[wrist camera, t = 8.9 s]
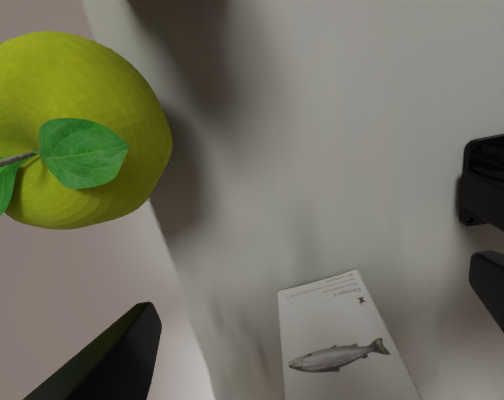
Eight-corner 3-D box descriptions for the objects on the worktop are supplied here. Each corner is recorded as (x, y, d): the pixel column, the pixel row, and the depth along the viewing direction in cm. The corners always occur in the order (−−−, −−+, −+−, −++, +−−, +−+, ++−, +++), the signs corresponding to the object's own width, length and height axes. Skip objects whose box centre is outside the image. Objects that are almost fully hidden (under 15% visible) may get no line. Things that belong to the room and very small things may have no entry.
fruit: (207, 169, 20) (162, 242, 11) (93, 200, 21) (-34, 288, 12) (158, 29, 17) (33, -39, 7) (26, 74, 18) (-222, 63, 9)
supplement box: (357, 265, 23) (458, 451, 11) (375, 327, 26) (471, 530, 14) (274, 288, 24) (287, 479, 12) (298, 345, 27) (328, 547, 15)
